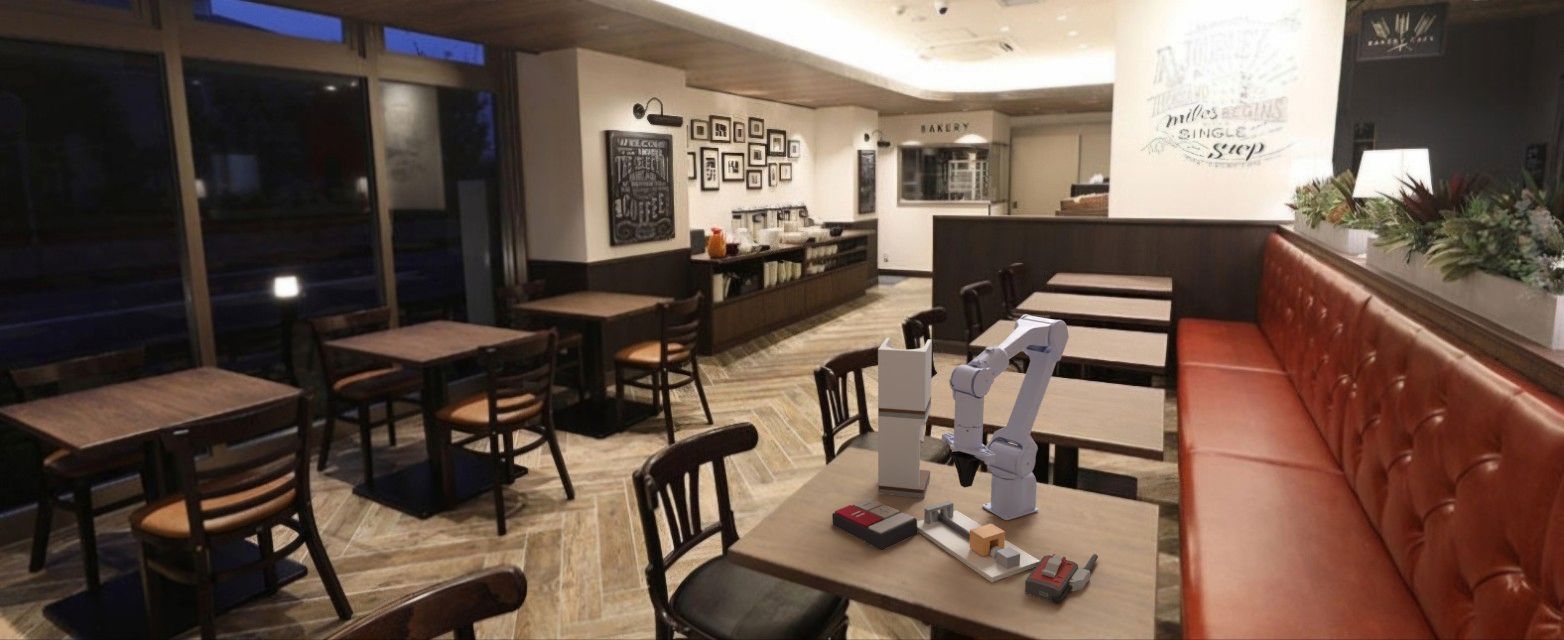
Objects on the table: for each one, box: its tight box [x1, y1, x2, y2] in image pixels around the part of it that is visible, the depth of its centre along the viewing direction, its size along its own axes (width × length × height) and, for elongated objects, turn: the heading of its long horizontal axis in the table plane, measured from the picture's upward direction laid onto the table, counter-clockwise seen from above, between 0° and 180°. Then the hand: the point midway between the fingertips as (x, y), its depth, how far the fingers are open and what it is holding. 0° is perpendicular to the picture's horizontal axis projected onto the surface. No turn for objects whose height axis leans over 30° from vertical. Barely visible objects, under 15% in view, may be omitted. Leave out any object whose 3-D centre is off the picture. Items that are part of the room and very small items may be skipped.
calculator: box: [831, 497, 918, 551], centre depth 169 cm, size 11×4×15 cm
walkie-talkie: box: [1024, 553, 1099, 604], centre depth 148 cm, size 9×4×20 cm
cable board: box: [917, 500, 1041, 583], centre depth 161 cm, size 12×25×4 cm, turn 27°
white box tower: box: [877, 337, 933, 499], centre depth 186 cm, size 11×11×35 cm
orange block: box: [969, 523, 1006, 556], centre depth 157 cm, size 5×4×4 cm
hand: (966, 485), depth 165 cm, fingers closed
